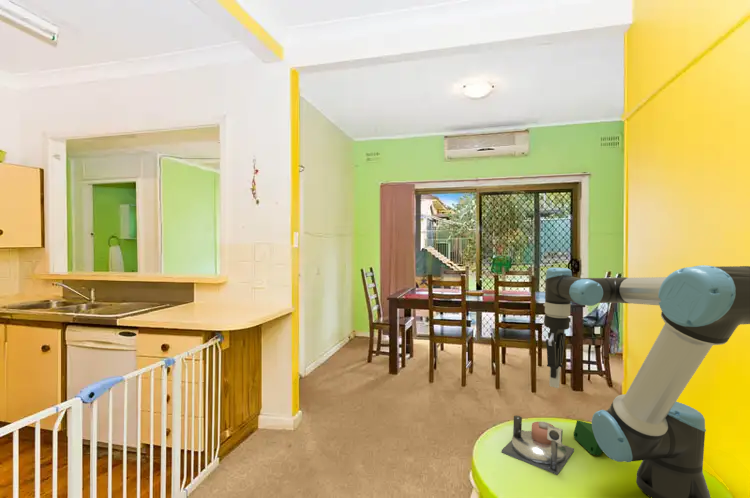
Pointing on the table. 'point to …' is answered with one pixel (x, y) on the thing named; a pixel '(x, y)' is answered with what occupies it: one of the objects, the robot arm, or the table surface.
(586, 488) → the table surface
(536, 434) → the cover
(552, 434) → the turntable base
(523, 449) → the turntable
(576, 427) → the clamp
